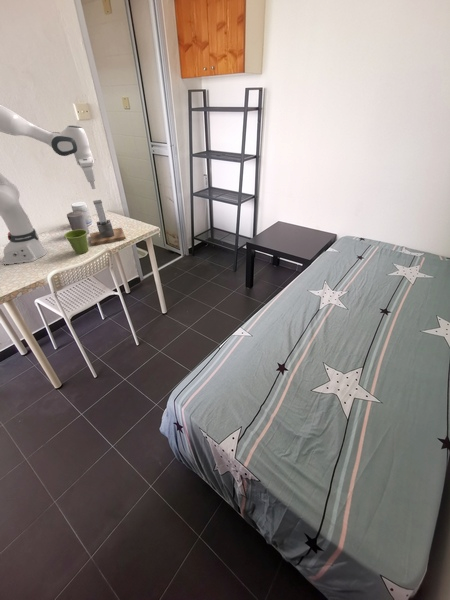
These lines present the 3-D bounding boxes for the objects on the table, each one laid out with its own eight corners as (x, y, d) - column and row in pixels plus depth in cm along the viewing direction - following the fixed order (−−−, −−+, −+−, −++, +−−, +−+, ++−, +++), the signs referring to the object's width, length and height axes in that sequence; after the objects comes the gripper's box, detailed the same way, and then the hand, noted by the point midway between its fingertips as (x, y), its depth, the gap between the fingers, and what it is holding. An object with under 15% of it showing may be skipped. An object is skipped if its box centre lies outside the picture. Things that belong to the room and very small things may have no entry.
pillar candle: (73, 233, 188) (64, 211, 179) (88, 229, 192) (81, 208, 183) (74, 238, 182) (66, 215, 172) (90, 234, 185) (83, 212, 176)
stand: (92, 246, 171) (86, 229, 165) (90, 236, 183) (85, 220, 177) (126, 239, 178) (121, 223, 172) (122, 230, 190) (118, 215, 183)
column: (103, 236, 177) (93, 203, 164) (102, 233, 180) (92, 200, 168) (111, 235, 178) (101, 201, 166) (110, 232, 182) (101, 199, 169)
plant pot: (69, 257, 160) (61, 238, 154) (73, 248, 170) (67, 230, 163) (91, 254, 162) (84, 236, 155) (94, 246, 171) (88, 228, 165)
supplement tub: (75, 225, 200) (68, 204, 191) (87, 221, 206) (81, 200, 197) (82, 228, 195) (75, 207, 186) (95, 224, 201) (88, 203, 192)
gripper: (78, 157, 160) (86, 183, 168) (79, 164, 145) (88, 191, 153) (89, 156, 162) (97, 181, 170) (92, 162, 147) (100, 190, 155)
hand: (93, 186), depth 162 cm, fingers open, 8 cm apart
